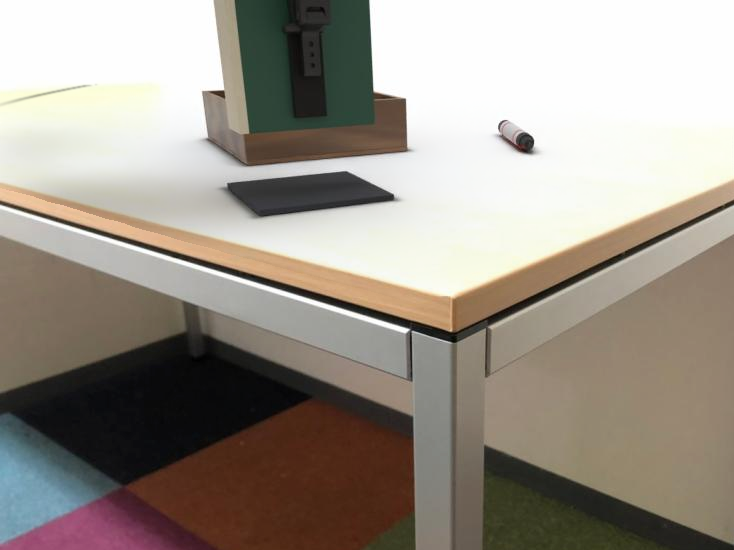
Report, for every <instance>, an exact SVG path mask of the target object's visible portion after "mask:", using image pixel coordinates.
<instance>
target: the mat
mask: <svg viewBox="0 0 734 550" xmlns="http://www.w3.org/2000/svg"><path fill="white" fill-rule="evenodd" d="M226 188H227V189H228V190H229V191H230V192H231V193H232V194H234V195H235V196H236V197H238V199H240V200H241V202H243V203H244V204H246V206H248V207H249V208H250V209H251V210H252V211H253V212H255V213H256V214H257V215H258V216H260V217H263V216H271V215H279V214H280V215H281V214H287V213H296V212H304V211H313V210H321V209H328V208H329V209H331V208H338V207H344V206H345V207H346V206H347V207H348V206H354V205H362V204H369V203H377V202H386V201H394V200H395V194H394V193H392V192H390V191H388V190H386V189H384V188H383V187H380V186H378V185H376V184H374V183H372V182H370V181H368V180H366V179H363V178H362V177H359V176H357V175H356V174H353V173H352V172H350V171H347V170H343V171H333V172H332V171H331V172H323V173H321V172H320V173H313V174H302V175H293V176H281V177H273V178H272V177H271V178H261V179H254V180H253V179H252V180H242V181H233V182H227V183H226Z"/></svg>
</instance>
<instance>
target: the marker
mask: <svg viewBox="0 0 734 550" xmlns="http://www.w3.org/2000/svg"><path fill="white" fill-rule="evenodd" d="M497 130H498V132H499V133H500V134H501V135H502V136H503V137H504V138H505V139H507V140H508V141H510V142H511V143H512V144H513V145H515V146H516V147H517V148H518V149H520V150H522V151H525V152H528V151H531V149H533V148H534V146H535V138H534V136H533V135H531V134H530V133H529V132H528V131H526V130H524V129H523V128H522V127H519V126H518V125H516V124H515V123H513V122H512V121H510V120H508V119H503V120H500V122H499V123H498V126H497Z"/></svg>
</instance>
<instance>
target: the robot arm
mask: <svg viewBox="0 0 734 550" xmlns="http://www.w3.org/2000/svg"><path fill="white" fill-rule="evenodd" d="M287 6H288V13H289V20H290V24H285V25H284V26H283V27H281V28H282V32H283V34H297V35H287V43H288V54H289V66H290V77H291V89H292V100H293V111H294V117H295V118H308V117H322V116H327V106H326V92H325V77H324V63H323V49H322V35H321V34H319V33H323V31H324V25H330V23H331V11H330V0H287Z"/></svg>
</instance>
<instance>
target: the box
mask: <svg viewBox="0 0 734 550" xmlns="http://www.w3.org/2000/svg"><path fill="white" fill-rule="evenodd" d="M201 94H202V95H201V96H202V102H203V110H204V118H205V126H206V133H207V134H206V135H207V139H208V140H209V141H211V142H212V143H214V145H217V146H218V147H220V148H221V149H223V150H224V151H226V152H227V153H229V155H231V156H233V157H234V158H236V159H237V160H239V161H240V162H241V163H243V164H245V165H246V166H256V165H267V164H279V163H288V162H299V161H310V160H311V161H312V160H322V159H323V160H324V159H331V158H343V157H355V156H364V155H365V156H366V155H376V154H387V153H398V152H408V119H407V117H408V115H407V98H406V97H401V96H397V95H393V94H388V93H384V92H380V91H375V90H374V110H375V124H371V125H357V126H344V127H331V128H318V129H305V130H292V131H278V132H265V133H252V134H239V133H237V132H235V131H233V130H232V129H230V128H229V123H228V115H227V107H226V99H225V91H224V89H217V90H215V89H213V90H201Z"/></svg>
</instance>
